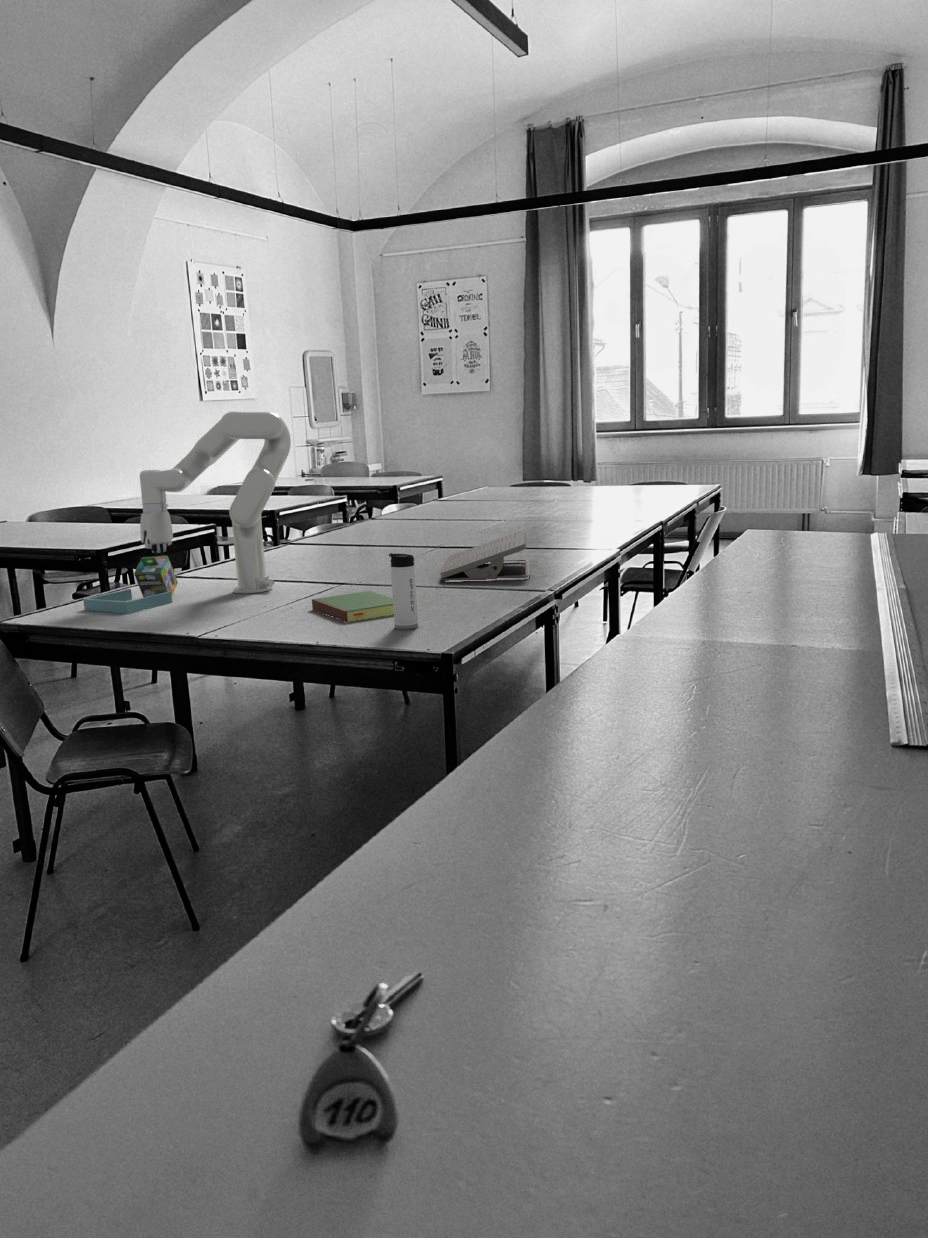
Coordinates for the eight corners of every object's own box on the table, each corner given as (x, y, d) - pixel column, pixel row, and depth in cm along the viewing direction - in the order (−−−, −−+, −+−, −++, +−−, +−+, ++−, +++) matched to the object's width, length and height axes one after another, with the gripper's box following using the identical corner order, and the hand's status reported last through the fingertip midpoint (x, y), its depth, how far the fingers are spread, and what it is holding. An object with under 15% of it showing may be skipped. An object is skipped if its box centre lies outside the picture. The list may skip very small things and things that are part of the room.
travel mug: (393, 625, 266) (388, 552, 262) (417, 624, 267) (413, 550, 262) (393, 630, 260) (388, 555, 256) (418, 629, 261) (414, 553, 256)
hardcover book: (312, 611, 294) (311, 599, 293) (369, 602, 303) (369, 590, 302) (347, 625, 272) (346, 611, 272) (407, 615, 282) (406, 602, 281)
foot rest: (448, 566, 365) (446, 532, 363) (529, 563, 363) (528, 529, 361) (439, 585, 327) (437, 547, 325) (530, 581, 325) (529, 543, 323)
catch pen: (172, 602, 317) (171, 591, 316) (128, 613, 301) (126, 602, 300) (129, 599, 326) (128, 588, 325) (84, 610, 311) (83, 599, 310)
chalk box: (178, 582, 328) (166, 546, 318) (170, 600, 321) (158, 563, 311) (151, 583, 329) (138, 547, 319) (143, 601, 322) (129, 564, 312)
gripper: (164, 505, 329) (169, 560, 333) (128, 510, 316) (134, 567, 320) (180, 506, 325) (185, 561, 329) (145, 510, 312) (151, 568, 316)
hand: (160, 564), depth 324 cm, fingers closed
